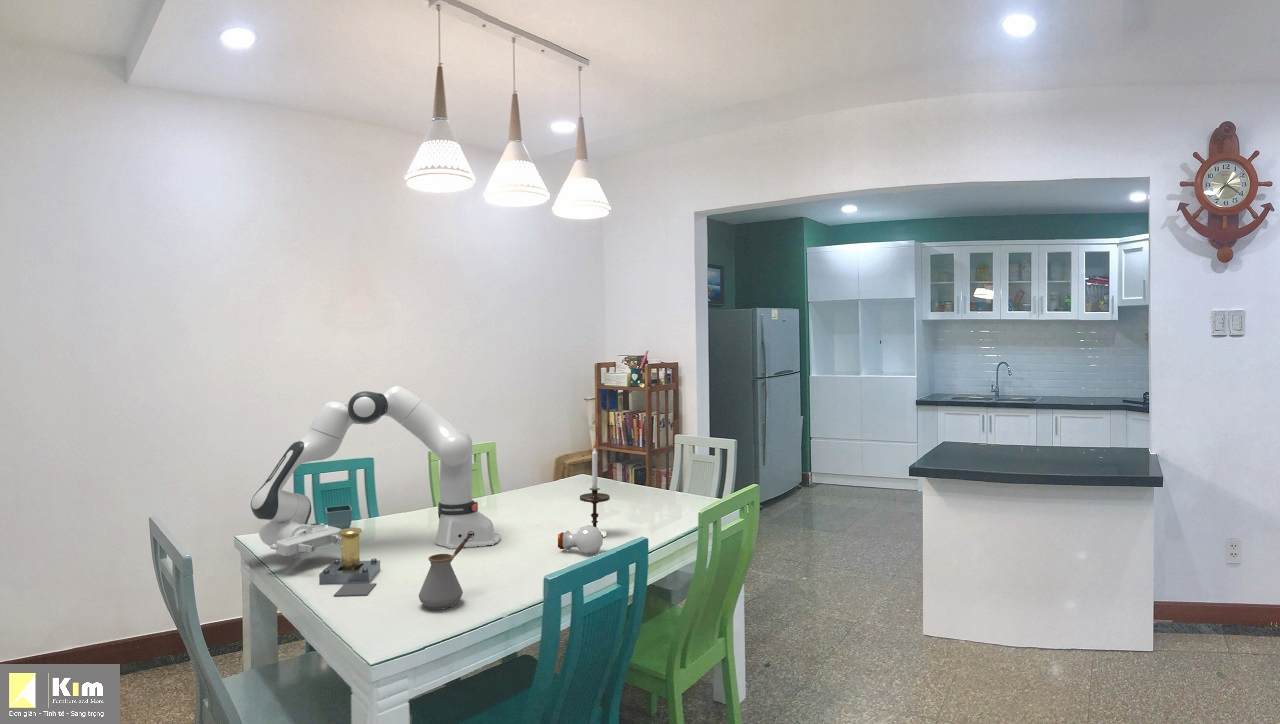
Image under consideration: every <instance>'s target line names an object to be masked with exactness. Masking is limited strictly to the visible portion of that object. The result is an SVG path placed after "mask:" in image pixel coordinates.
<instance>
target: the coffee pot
mask: <svg viewBox="0 0 1280 724" xmlns="http://www.w3.org/2000/svg"><path fill="white" fill-rule="evenodd" d="M470 537H472V536H470V535H468V536H467V537H466V539H464V541H463V542H462V543H461V544H460V545H459V546H458V548H455V549H456V550H454V552H453V554H450V553H438V554H437V553H436V554H432V555H430V556H429V557H428V561H429V562H430V567H429V569H428V572H427V574H426V576H425V579H424V581H423V584H422V586H421V588H420V591H419V593H418V599H419V601H420V603H422V604H423V605H424V606H425V607H426V608H427V609H429V608H430V610H435V609H438V610H444V609H443V608H446V609H448V608H447V607H450V606H452V605H454V604H455V603H456V604H457V603H458V602H459V601H460V600H461V598H462V596H463V593H464V592H463V588H462V586H461V583H460V582H459V580H458V577H457V575H456V573H455V570H454V569H453V566H452V565H451V563H452V561H453V560H454V559H455V557H456V556H457V555H458V554H459V553H460V552H461V551H462V549H463V547H464V545H465V543H466V542H468V539H469V538H470ZM472 538H473V537H472ZM473 540H474V538H473ZM473 540H469V541H473ZM456 604H455V605H456ZM455 605H454V606H455ZM452 607H453V606H452ZM450 608H451V607H450Z"/></svg>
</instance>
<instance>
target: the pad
mask: <svg viewBox="0 0 1280 724" xmlns="http://www.w3.org/2000/svg"><path fill="white" fill-rule="evenodd" d="M376 586H377V583H376V582H375V583H374V582H373V583H372V582H371V583H370V582H369V583H354V584H342V586H341V587H340V588H339V589H338V590H337V591H336V592H335V593H334V594H333V597H335V598H337V597H339V598H340V597H366V596H369V594H370V593H371V592H372V591H373V589H374V588H375V587H376Z"/></svg>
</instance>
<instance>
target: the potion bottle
mask: <svg viewBox="0 0 1280 724" xmlns="http://www.w3.org/2000/svg"><path fill="white" fill-rule="evenodd" d="M599 530H600V529H599V528H598V527H597V528H596V527H593V525H590V524H588V525H584V526H582V527H580V528H579V529H578V530H577V532H576V533H571V531H569V530H567V531H565V532H563V531H562V532H560V533H558V534H557V548H559V549H560V550H561V549H563V550H565V551H567V550H569V551H570V550H571V549H573V548H577V549H578V551H579V553H582V554H584V555H587V554H588V556H589V555H593V554H596V553H598V552H599V550H600V549H601V547H602V546H603V544H604V543H603V542H604V538H603V535H602V534H601V532H600V531H599Z"/></svg>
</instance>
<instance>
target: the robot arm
mask: <svg viewBox="0 0 1280 724" xmlns="http://www.w3.org/2000/svg"><path fill="white" fill-rule="evenodd" d="M382 416H386V417H390V418H392V419H393V420H394V421H395V422H397V423H399V425H400V426H402V427H403V428H404V429H406V430H407V431H408V432H409V433H411V434H412V435H414V436H415V437H416V438H417V439H418V440H419V441H421V443H423V444H424V445H425V446H426V447H427V449H429V451H431V452H432V453H433V454H434V455H435V456H437V457H438V458H439V459H440V465H439V502H438V505H437V516H438V528H437V533H436V537H435V541H434V543H435V544H436V545H438V546H441V547H445V548H448V549H457V548H458V546H459V545H460V544H461V543H462V542H463V541H464V539H466V537H467V536H468V535H470V536H472V537H473V538H474V540H473V538H472V537H470V538H469V539H468V542H466V543H465V545H464V547H466V548H476V547H477V546H479V547H487V546H486V545H492V546H495V545H496V544H495V543H497V542H498V543H499V542H500V541H501V539H500V537H501V534H500V533H499V532H495V528H494V524H493V522H492V520H491V519H490V518H488V517H487V516H485V515H484V514H483V513H481V512H480V511H479V503H478V502H479V501H475V500H473V440H472V437H471V436H470V434H469V433H467V431H465V430H463V429H459V428H455V426H454V425H452V424H451V423H450V422H449V421H448V420H447V419H446V418H444V417H443V416H442V414H441V413H440V412H438V411H437V410H436V409H434V408H433V407H432V406H431V405H429V403H427V402H425V401H424V400H423V399H422V398H420V397H419V396H417V395H416V394H415V393H413V392H412V391H410V390H408V389H406V388H404V387H402V386H400V385H395V386H391V387H390V388H388V389H386V391H384V393H381V392H373V391H368V390H366V391H360V392H356V393H355V394H353V395H352V396H351V397H350V400H349V401H348V403H343V402H340V401H334V400H332V401H328V402H326V403H324V404H323V406H322V407H321V408H320V410H319V411H318V413H317V414H316V416H315V417H314V419H313V421H312V423H311V424H310V426H309V429H308V430H307V432H306V434H305V435H303V437H302V438H301V439H299V440H298V441H295V442H293V443H292V444H291V445H290V446H289V447H288V448H287V450H286V451H285V452H284V453H283V455H282V457H280V459H279V461H278V463H277V464H276V466H275V467H274V469H273V470H272V472H271V473H270V475H269V476H268V477H267V479H266V480H265V482H264V483H263V485H261V486H260V488H258V490H257V491H256V493H254V495H253V496H252V498H251V501H250V508H251V512H252V514H253V515H254V516H255V517H256V518H257V519H258V520H267V521H264V522H263V523H262V524H261V525H260V527H259V530H258V535H259V539H261V541H262V543H263V544H265V545H267V546H268V547H270V550H275V552H276V554H279V555H281V556H283V557H290V556H293V555H298V554H302V553H304V552H305V553H306V552H308V553H311V552H314V551H315V550H316V549H318V548H321V547H325V546H329V545H333V544H334V545H339V544H341V535H340V534H339V531H340V530H342V529H340V528H336V527H332V526H328V525H325V523H324V522H318V523H308V521H309V519H310V517H311V514H312V504H311V500H310V498H309V497H308V496H307V495H304V494H300V493H297V492H291V491H286V490H283V489H284V487H285V485H286V484H287V482H288V480H289V479H290V478H291V476H292V474H294V472H295V470H296V469H297V468H298V467H299V466H301V465H302V464H305V463H309V462H314V461H315V462H316V461H324V460H326V459H329V458H331V457H332V456H334V455H335V454H336V453H337V452H338V450H339V449H340V447H341V444H342V443H343V440H344V438H345V436H346V434H347V432H348V430H349V428H350V427H351V426H352V425H353V424H356V425H358V424H359V425H365V426H366V425H371V424H375V423H376V422H378V421H379V420H380V419H381V418H382ZM469 540H473V541H469ZM499 540H500V541H499ZM498 543H497V544H498ZM494 544H495V545H494ZM464 547H463V548H464ZM463 548H462V549H463Z"/></svg>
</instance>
